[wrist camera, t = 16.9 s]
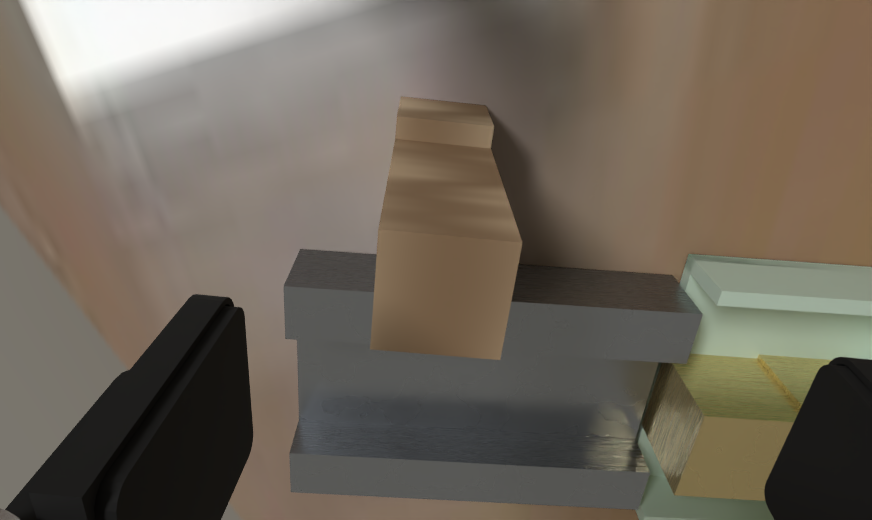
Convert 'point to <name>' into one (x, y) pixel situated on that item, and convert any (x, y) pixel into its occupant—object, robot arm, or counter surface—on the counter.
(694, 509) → the tray
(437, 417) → the slot board
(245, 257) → the counter surface
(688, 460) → the tan cube
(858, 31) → the counter surface
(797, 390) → the chip
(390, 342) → the tan gable carton
